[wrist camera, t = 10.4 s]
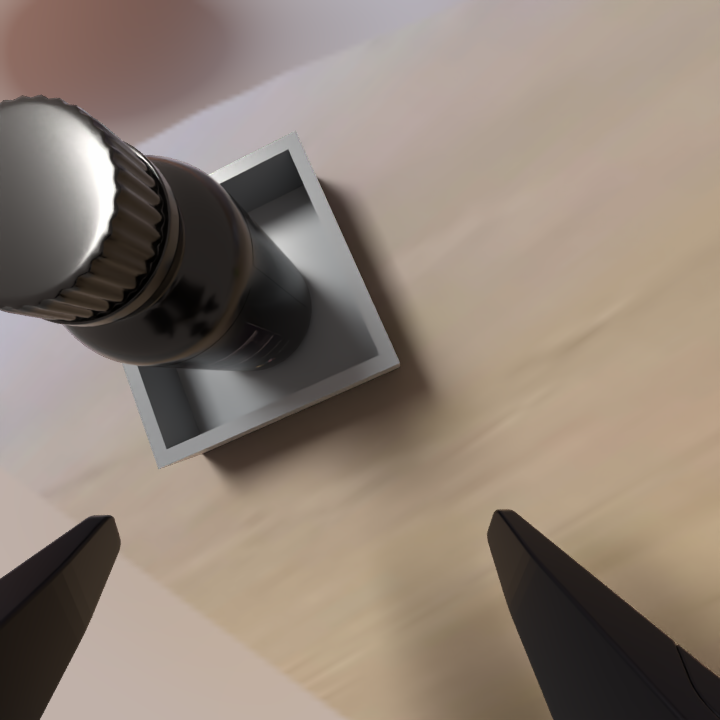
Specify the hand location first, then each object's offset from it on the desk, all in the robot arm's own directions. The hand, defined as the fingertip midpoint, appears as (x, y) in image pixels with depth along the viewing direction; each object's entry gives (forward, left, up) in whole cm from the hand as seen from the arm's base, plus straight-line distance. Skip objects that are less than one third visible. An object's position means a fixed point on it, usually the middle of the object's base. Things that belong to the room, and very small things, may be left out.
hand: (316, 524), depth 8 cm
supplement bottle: (+9, +3, -10) cm, 14 cm away
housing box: (+9, +3, -10) cm, 14 cm away
